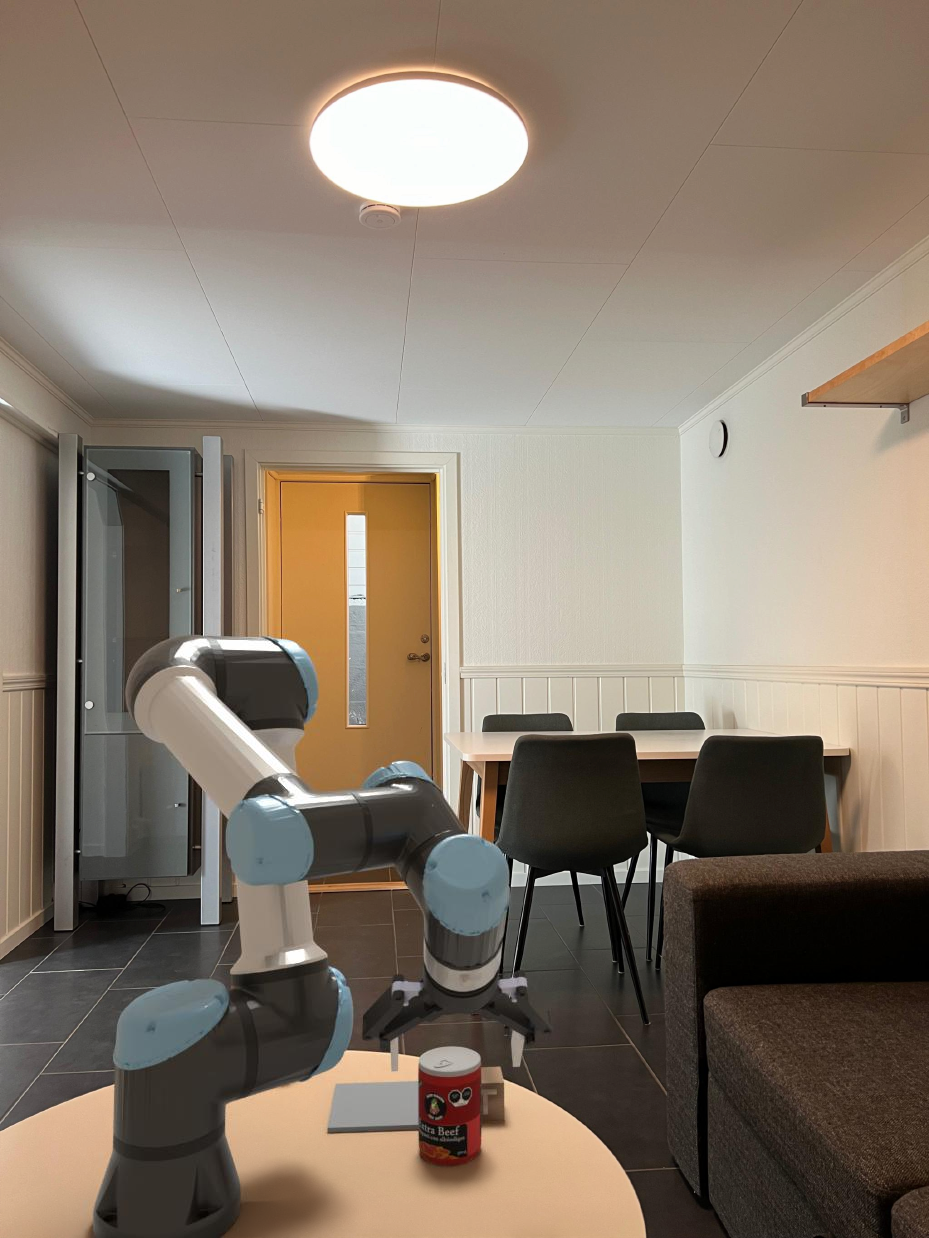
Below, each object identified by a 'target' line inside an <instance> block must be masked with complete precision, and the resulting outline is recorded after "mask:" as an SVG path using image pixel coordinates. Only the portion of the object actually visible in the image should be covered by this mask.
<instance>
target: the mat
mask: <svg viewBox="0 0 929 1238" xmlns="http://www.w3.org/2000/svg"><path fill="white" fill-rule="evenodd" d="M410 1130H414V1131H415V1130H418V1080H417V1081H416V1080H409V1081H407V1080H406V1081H404V1080H403V1081H380V1082H379V1081H377V1082H376V1081H375V1082H347V1083H345V1082H344V1083H343V1082H342V1083H339V1082H338V1083H335V1085H334V1091H333V1096H332V1102H331V1107H330V1113H329V1118H328V1123H327V1133H328V1134H329V1133H351V1132H352V1133H353V1132H354V1133H355V1132H356V1133H357V1132H358V1133H359V1132H382V1131H383V1132H385V1131H387V1132H388V1131H410Z"/></svg>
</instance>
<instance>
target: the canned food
mask: <svg viewBox="0 0 929 1238" xmlns="http://www.w3.org/2000/svg"><path fill="white" fill-rule="evenodd" d="M481 1060H482V1059H481V1055H480V1054H479V1053H478V1052H477V1051H475V1050H472V1049H470V1048H468V1047H463V1046H441V1047H436V1048H433V1049H429V1050H427V1051H426V1052H424V1053H422V1054H421V1055H420V1056H419V1058H418V1070H417V1071H418V1072H417V1073H418V1075H417V1076H418V1079H417V1081H418V1132H417V1133H418V1134H417V1135H418V1149H419V1152H420V1155H421V1157H422V1158H423V1159H424V1160H426V1161H427V1162H429V1163H431V1164H434V1165H439V1166H457V1165H462V1164H466V1163H467V1162H470V1161H472V1160H473V1159H474V1158H476V1157H477V1156H478V1155H479V1152H480V1150H481V1147H482V1122H481V1067H482V1061H481Z"/></svg>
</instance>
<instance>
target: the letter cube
mask: <svg viewBox="0 0 929 1238" xmlns="http://www.w3.org/2000/svg"><path fill="white" fill-rule="evenodd" d="M491 1122H493V1123H494V1122H499V1123H500V1122H505V1080H504V1077H503V1072H502V1067H501V1066H484V1067H483V1066H481V1123H491Z"/></svg>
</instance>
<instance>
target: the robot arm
mask: <svg viewBox="0 0 929 1238" xmlns="http://www.w3.org/2000/svg"><path fill="white" fill-rule="evenodd" d="M319 692H320V691H319V680H318V676H317V672H316V669H315V666H314V662H312V659H311V657H310V656H309V654H308V653H307V651H306V650H305V649H303V648H302V647H301V645H299V643H296V642H295V641H293V640H290V639H283V638H275V637H271V636H266V635H264V636H263V635H262V636H223V635H201V634H184V635H178V636H173V637H170V638H168V639H165V640H163V641H160V642H159V643H157V644H155V645H153V646H152V647H151V648H149V649H148V650H147V651H145V652H144V653H143V654H142V655H141V657H139V658H138V659H137V661H136V662H135V664H134V665H133V666H132V668H131V671H130V672H129V675H128V678H127V682H126V686H125V703H126V708H127V710H128V713H129V715H130V718H131V719H132V721H133V722H134V725H135V726H137V728H138V729H139V730H140V731H141V733H143V735H144V736H146V738H148V739H150V740H152V741H154V742H155V743H156V742H157V743H160V744H164V745H165V747H166V748H167V749H168V750H169V751H170V752H171V754H173V756H174V757H175V758H176V759H177V760H178V762H179V763H180V764H181V766H182V767H183V768H184V769H185V770H186V771H187V773H188V774H189V775H190V776H191V777H192V778H193V780H194V781H195V782H196V783H197V784H198V785H199V787H200V788H201V789H202V790H203V791H204V793H206V795H207V796H208V797H209V799H210V800H211V801H212V802H213V803H214V805H215V806H216V807H217V808H218V810H220V812H221V813H222V814H223V815H224V816H225V817H226V819H227V822H226V827H225V828H226V829H225V847H226V848H225V849H226V855H227V858H228V859H229V860H230V866H231V867H230V868H231V870H232V873H233V874H234V876H235V882H236V895H237V897H236V899H237V909H238V921H239V935H240V944H241V945H240V946H241V948H240V949H241V954H240V957H239V958H238V959H237V961H236V962H235V963H234V965H233V966H232V967H231V968H230V971H229V972H230V985H231V986H230V987H231V988H230V989H227V987H226V985H224V983H223V982H221V981H218V980H216V979H212V978H197V979H194V980H190V981H189V980H188V979H186V980H180V981H176V982H172V983H167V984H165V985H161V986H159V987H156V988H153V989H151V990H148V991H146V992H145V993H143V994H141V995H139V996H138V997H136V998H135V999H133V1000H132V1001H131V1002H130V1003H129V1004H128V1005H127V1006H126V1007H125V1008H124V1009H123V1011H122V1012H121V1014H120V1016H119V1018H118V1021H117V1024H116V1037H115V1047H114V1048H113V1051H112V1052H113V1053H112V1059H113V1064H114V1081H113V1082H114V1084H113V1086H114V1087H113V1088H114V1089H113V1094H114V1095H113V1124H112V1125H113V1126H112V1127H113V1128H112V1130H113V1132H112V1151H111V1155H110V1158H109V1160H108V1164H107V1167H106V1170H105V1172H104V1176H103V1178H102V1182H101V1184H100V1187H99V1189H98V1194H97V1196H96V1199H95V1203H94V1205H93V1206H94V1207H93V1211H92V1236H93V1238H220V1236H222V1235H224V1233H226V1232H227V1231H228V1230H229V1229H230V1228H231V1227H232V1226H233V1224H234V1223H235V1222H236V1220H237V1218H238V1216H239V1214H240V1212H241V1194H242V1190H241V1189H242V1188H241V1187H242V1185H241V1180H240V1178H239V1177H240V1176H239V1174H238V1171H237V1168H236V1164H235V1161H234V1158H233V1155H232V1151H231V1148H230V1146H229V1142H228V1139H227V1136H226V1109H227V1107H226V1105H228V1104H230V1103H232V1102H235V1101H239V1100H241V1099H246V1098H248V1097H252V1096H255V1095H257V1094H261V1093H264V1092H268V1091H270V1090H274V1089H277V1088H280V1087H283V1086H288V1085H289V1084H290V1085H291V1084H294V1083H303V1082H307V1081H309V1080H310V1079H312V1078H314V1077H315V1076H318V1075H320V1074H323V1073H326V1072H328V1071H330V1070H332V1069H333V1068H335V1067H336V1066H338V1064H339V1063H340V1062H341V1061H342V1058H343V1057H344V1055H345V1052H346V1051H347V1050H348V1048H349V1045H350V1042H351V1037H352V1034H353V1033H352V1032H353V1028H354V1027H353V1026H354V1004H353V1003H354V1002H353V997H352V993H351V989H350V987H349V986H347V980H346V978H345V976H344V974H343V973H342V972H341V971H340V970H339V969H338V968H335V967H332V966H329V957H328V953H327V952H326V951H325V950H323V949H322V948H321V947H320V946H319V945H318V944H316V942H315V941H314V932H313V925H312V913H311V904H310V893H309V884H308V883H309V882H308V881H310V880H315V879H320V878H325V877H332V876H337V875H343V874H344V875H345V874H351V873H360V872H365V871H373V870H378V869H384V868H390V867H393V868H394V869H395V870H396V872H397V873H398V875H399V876H400V878H401V879H402V881H403V883H404V884H405V886H406V888H407V889H408V890H409V891H410V893H411V895H412V896H413V899H414V900H415V902H416V903H417V905H418V906H419V908H420V910H421V912H422V914H423V924H424V925H423V929H424V930H423V971H422V972H423V973H422V974H423V975H422V977H421V978H420V979H419V980H418V981H417V982H416V981H415V982H414V981H407V980H405V978H406V976H405V975H404V974H402V973H397V974H396V973H395V974H394V975H393V976H392V979H391V984H390V986H389V987H388V988H387V989H386V990H385V991H384V992H383V993H381V995H380V997H378V998H377V1000H376V1001H375V1002H373V1004H372V1005H371V1006H370V1007H369V1008H368V1009H367V1010H366V1011H365V1013H364V1014H363V1015H362V1028H361V1029H362V1032H361V1036H362V1037H361V1038H362V1040H363V1041H366V1042H367V1041H368V1042H369V1041H372V1040H374V1039H375V1038H377V1039H378V1040H379V1051H380V1052H381V1053H390V1070H391V1072H398V1071H399V1037H401V1036H402V1035H404V1034H405V1033H407V1032H409V1031H410V1030H412V1029H414V1028H415V1027H417V1026H419V1025H420V1024H423V1022H428V1023H432V1022H434V1021H436V1020H437V1019H439V1018H441V1017H442V1016H449V1015H451V1016H453V1015H458V1014H460V1015H461V1014H463V1015H475V1014H476V1015H478V1016H480V1017H482V1018H483V1019H486V1020H487V1021H491V1020H495V1021H497V1022H498V1023H500V1024H502V1025H504V1026H505V1027H507V1028H509V1029H511V1030H512V1032H511V1033H512V1034H511V1041H510V1047H511V1058H512V1067H513V1068H520V1067H521V1061H522V1056H523V1050H524V1048H528V1047H529V1048H530V1047H532V1045H535V1044H536V1043H537V1037H536V1033H538V1032H540V1033H541V1034H543V1035H550V1034H552V1033H553V1024H552V1016H551V1015H552V1014H551V1008H550V1007H549V1006H548V1004H547V1003H545V1001H544V1000H543V999H542V998H541V996H540V995H539V994H538V993H537V992H536V991H535V990H534V988H533V987H532V986H531V984H530V983H529V982H528V981H527V972H526V971H525V970H523V969H518V970H515V971H514V973H513V975H514V977H513V976H512V977H510V978H503V979H501V977H500V967H501V959H502V949H503V938H504V934H505V926H506V922H507V921H506V920H507V919H506V918H507V912H508V908H509V905H510V902H511V894H510V893H511V887H510V886H509V885H510V869H509V864H508V861H507V858H506V857H505V855H504V853H503V852H502V851H501V849H500V848H499V846H497V845H496V844H494V843H492V842H491V841H489V840H487V839H485V838H484V837H482V836H479V835H477V834H471V833H469V832H468V831H467V829H466V828H465V827H464V824H463V823H462V822H461V820H460V819H459V817H458V816H457V814H456V813H455V811H454V810H453V809H452V807H451V805H450V804H449V802H448V801H447V799H446V798H445V794H444V793H443V791H442V789H441V788H440V787H439V786H438V785H437V784H436V783H435V782H434V781H433V779H432V778H431V777H429V775H428V773H426V771H425V770H424V769H423V768H422V767H421V766H420V765H419V764H417V763H415V762H412V761H408V760H398V761H393V762H391V764H389V766H387V767H384V766H381V767H379V768H378V769H376V770H375V771H374V772H372V773H371V774H370V775H369V776H368V777H367V778H366V780H365V781H364V783H363V784H362V786H361V788H353V789H352V788H350V789H342V790H330V791H317V790H314V789H313V788H312V787H311V786H310V785H309V784H308V783H307V781H304V780H303V779H302V778H301V777H300V776H299V775H298V771H297V762H296V753H295V750H296V746H297V745H298V744H299V742H300V741H301V740H302V739H303V738H304V736H305V724H307V723H309V722H310V721H311V720H312V719H313V717H314V716H315V714H316V712H317V708H318V706H317V704H316V703H317V702H318V701H319V694H320V693H319ZM506 994H507V995H506Z"/></svg>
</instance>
